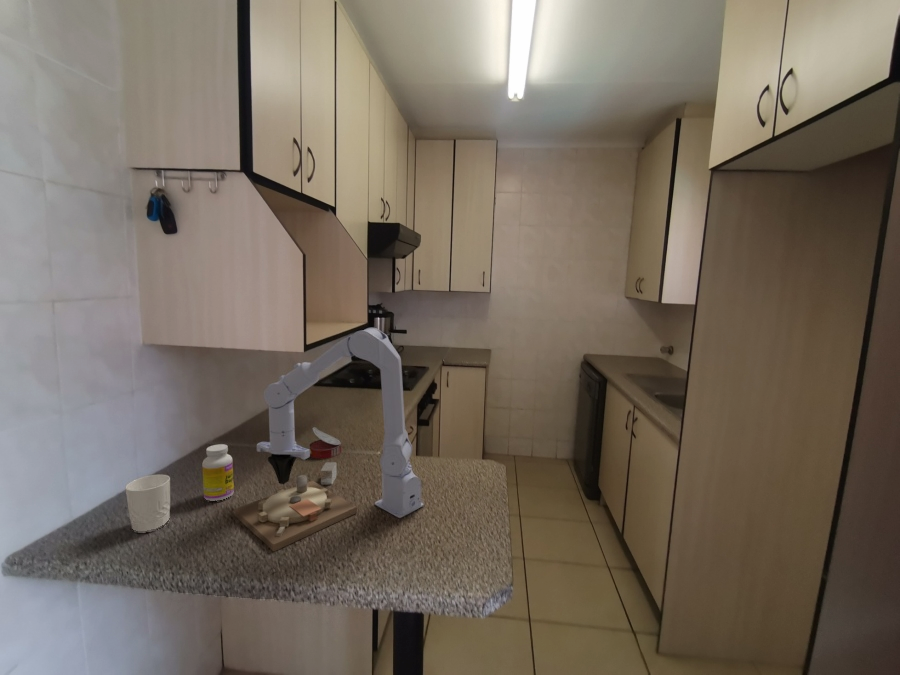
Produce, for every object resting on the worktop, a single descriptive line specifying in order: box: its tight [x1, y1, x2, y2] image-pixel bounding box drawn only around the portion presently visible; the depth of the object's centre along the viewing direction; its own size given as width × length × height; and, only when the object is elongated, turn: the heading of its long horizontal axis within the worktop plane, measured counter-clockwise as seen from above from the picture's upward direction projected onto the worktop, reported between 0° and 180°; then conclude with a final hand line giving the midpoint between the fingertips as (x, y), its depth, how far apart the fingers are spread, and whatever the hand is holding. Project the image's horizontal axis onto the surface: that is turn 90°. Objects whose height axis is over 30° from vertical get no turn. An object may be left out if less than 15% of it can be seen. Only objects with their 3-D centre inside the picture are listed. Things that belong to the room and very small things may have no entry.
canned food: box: [309, 426, 342, 460], centre depth 134 cm, size 11×10×10 cm
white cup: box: [124, 474, 171, 531], centre depth 91 cm, size 8×8×10 cm
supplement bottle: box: [201, 443, 235, 502], centre depth 104 cm, size 7×7×13 cm
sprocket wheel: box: [258, 474, 332, 527], centre depth 96 cm, size 16×16×5 cm
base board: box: [233, 480, 358, 552], centre depth 97 cm, size 20×20×2 cm
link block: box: [320, 461, 338, 486], centre depth 114 cm, size 6×3×4 cm, turn 3°
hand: (283, 482), depth 103 cm, fingers closed
